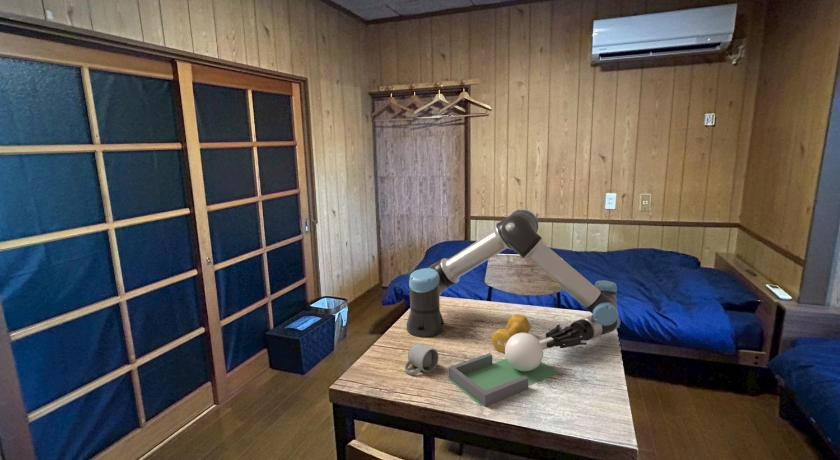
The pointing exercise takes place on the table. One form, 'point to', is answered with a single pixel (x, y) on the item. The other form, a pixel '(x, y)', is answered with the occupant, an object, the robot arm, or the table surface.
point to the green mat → (505, 375)
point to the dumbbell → (510, 331)
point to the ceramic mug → (421, 358)
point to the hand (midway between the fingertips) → (538, 346)
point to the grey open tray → (476, 391)
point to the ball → (524, 352)
